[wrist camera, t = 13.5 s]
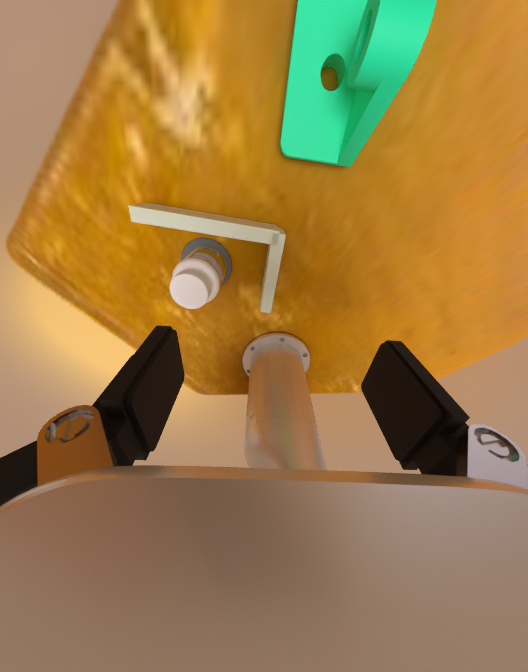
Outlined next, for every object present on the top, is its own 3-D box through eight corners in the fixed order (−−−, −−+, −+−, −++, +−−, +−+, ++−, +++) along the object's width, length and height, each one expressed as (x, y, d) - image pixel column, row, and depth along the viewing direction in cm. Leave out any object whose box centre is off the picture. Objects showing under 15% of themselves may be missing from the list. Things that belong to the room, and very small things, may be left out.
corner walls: (269, 297, 34) (270, 313, 29) (159, 282, 32) (144, 296, 28) (283, 225, 28) (286, 232, 24) (149, 202, 26) (128, 205, 22)
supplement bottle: (201, 288, 32) (180, 321, 24) (181, 253, 30) (151, 277, 22) (233, 276, 31) (223, 306, 23) (216, 238, 28) (198, 258, 20)
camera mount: (300, -34, 17) (336, -244, 9) (390, -14, 18) (504, -195, 9) (277, 157, 24) (285, 140, 16) (343, 167, 25) (385, 157, 16)
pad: (229, 290, 33) (229, 291, 33) (183, 284, 32) (182, 284, 32) (233, 242, 29) (233, 242, 29) (180, 233, 28) (179, 234, 28)
